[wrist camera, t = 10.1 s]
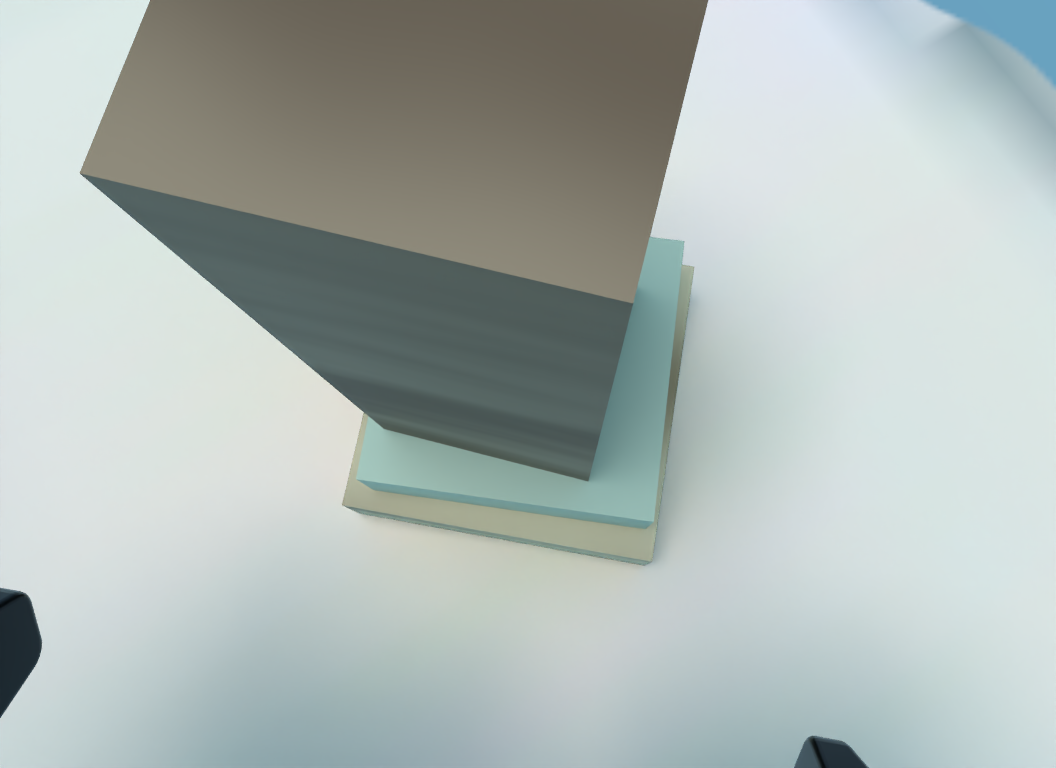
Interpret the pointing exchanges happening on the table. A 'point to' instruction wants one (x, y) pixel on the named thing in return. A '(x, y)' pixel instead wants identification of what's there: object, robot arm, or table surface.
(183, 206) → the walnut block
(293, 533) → the table surface
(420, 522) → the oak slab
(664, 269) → the green slab
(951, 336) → the table surface
